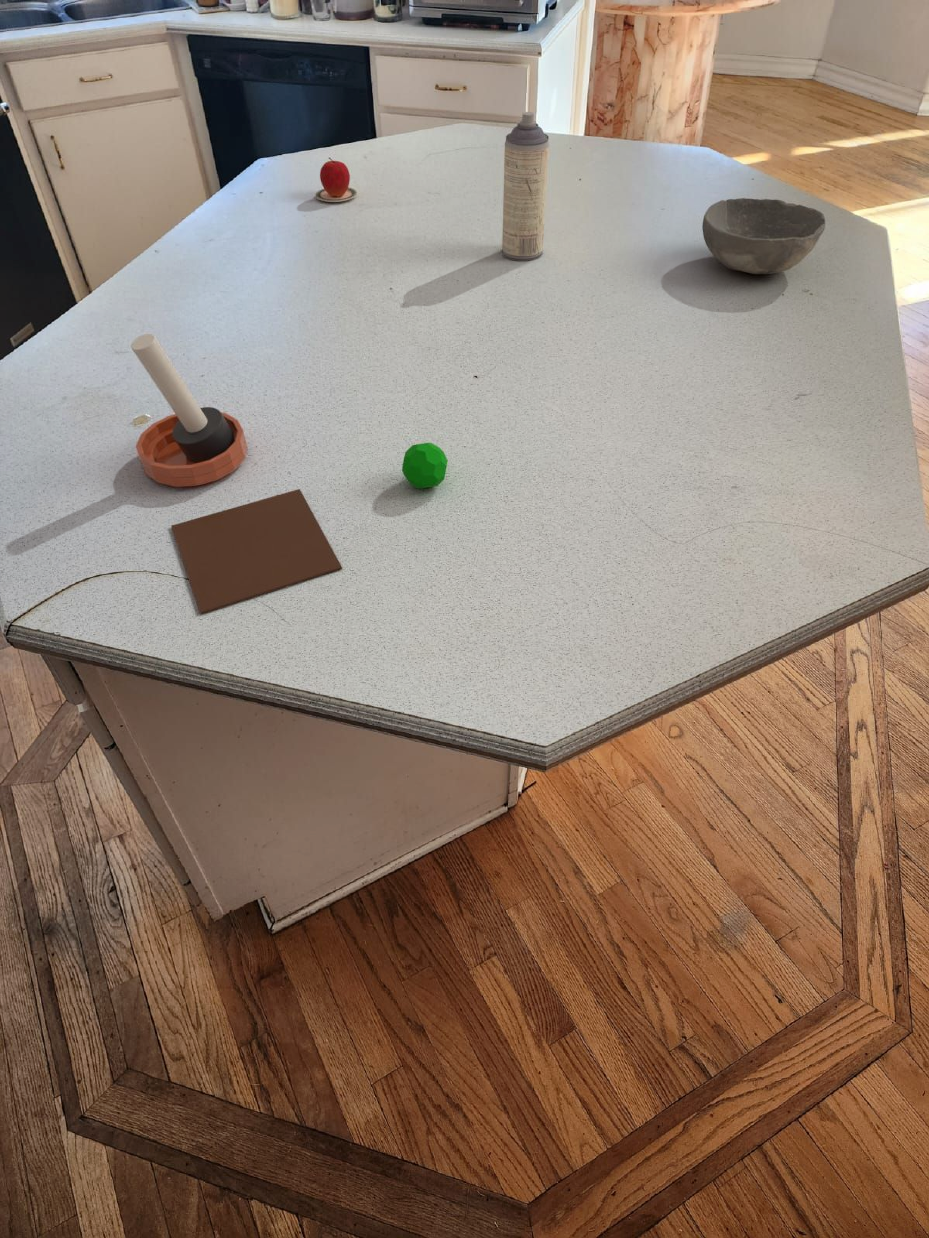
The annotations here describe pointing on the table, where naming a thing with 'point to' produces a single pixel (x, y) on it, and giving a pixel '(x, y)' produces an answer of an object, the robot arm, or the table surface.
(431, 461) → the polyhedron
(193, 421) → the brush
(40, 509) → the table surface
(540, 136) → the aerosol can
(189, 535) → the board
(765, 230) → the bowl
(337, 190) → the apple
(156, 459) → the dish
